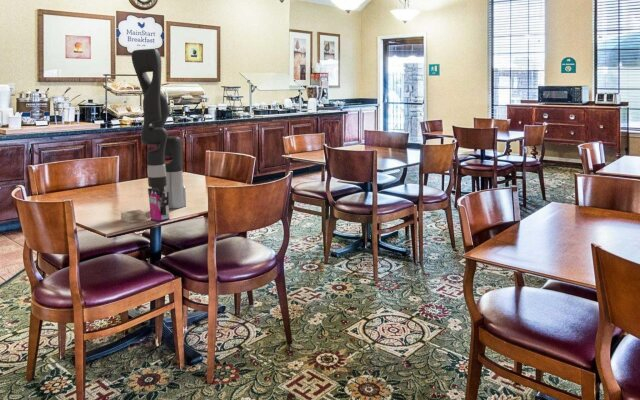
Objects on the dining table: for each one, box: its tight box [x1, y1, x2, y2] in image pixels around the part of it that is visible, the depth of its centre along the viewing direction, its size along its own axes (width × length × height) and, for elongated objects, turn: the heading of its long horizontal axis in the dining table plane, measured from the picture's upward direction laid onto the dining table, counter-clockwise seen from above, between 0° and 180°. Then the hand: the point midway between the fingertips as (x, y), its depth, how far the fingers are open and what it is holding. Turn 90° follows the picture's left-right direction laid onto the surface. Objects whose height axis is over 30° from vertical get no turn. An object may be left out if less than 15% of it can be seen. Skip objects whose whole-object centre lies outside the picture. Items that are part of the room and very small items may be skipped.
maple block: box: [120, 209, 148, 224], centre depth 232 cm, size 8×8×4 cm
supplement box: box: [148, 193, 171, 223], centre depth 231 cm, size 6×6×12 cm
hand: (159, 213), depth 232 cm, fingers closed on supplement box, 6 cm apart
